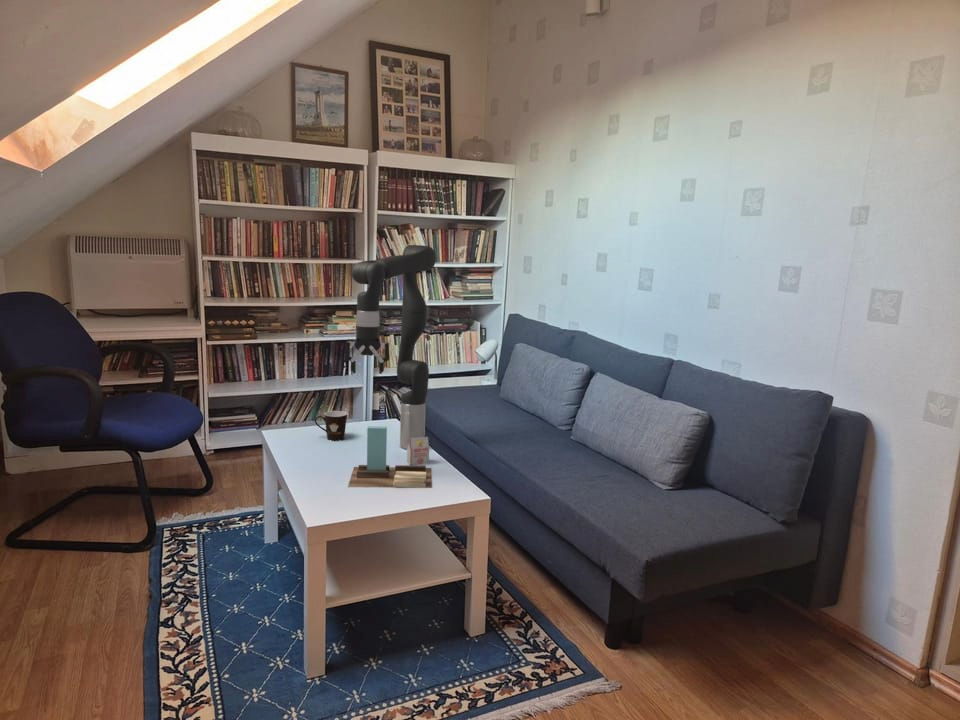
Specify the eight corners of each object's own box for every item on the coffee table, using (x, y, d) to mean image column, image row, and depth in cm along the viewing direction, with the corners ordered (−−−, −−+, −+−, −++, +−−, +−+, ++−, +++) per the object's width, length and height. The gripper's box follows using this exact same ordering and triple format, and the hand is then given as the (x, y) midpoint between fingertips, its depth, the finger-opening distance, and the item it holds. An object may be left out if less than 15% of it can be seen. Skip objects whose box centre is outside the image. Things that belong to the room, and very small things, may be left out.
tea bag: (406, 464, 220) (407, 437, 218) (425, 462, 223) (425, 435, 221) (410, 468, 216) (410, 440, 215) (428, 466, 219) (429, 438, 218)
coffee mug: (351, 437, 247) (351, 412, 246) (338, 443, 240) (338, 417, 238) (327, 432, 252) (327, 408, 250) (313, 438, 244) (313, 413, 242)
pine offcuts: (394, 480, 202) (394, 471, 202) (426, 480, 203) (426, 471, 202) (393, 487, 196) (393, 478, 195) (426, 487, 197) (426, 478, 196)
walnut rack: (354, 469, 213) (354, 461, 212) (431, 470, 215) (431, 462, 214) (347, 490, 195) (347, 480, 194) (431, 490, 197) (432, 481, 197)
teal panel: (367, 473, 207) (368, 426, 204) (386, 473, 208) (386, 426, 205) (366, 475, 205) (367, 428, 202) (385, 475, 205) (386, 428, 203)
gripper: (390, 323, 210) (389, 371, 212) (347, 322, 208) (346, 370, 211) (389, 326, 202) (388, 376, 205) (344, 325, 201) (344, 375, 204)
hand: (367, 373), depth 208 cm, fingers open, 8 cm apart
